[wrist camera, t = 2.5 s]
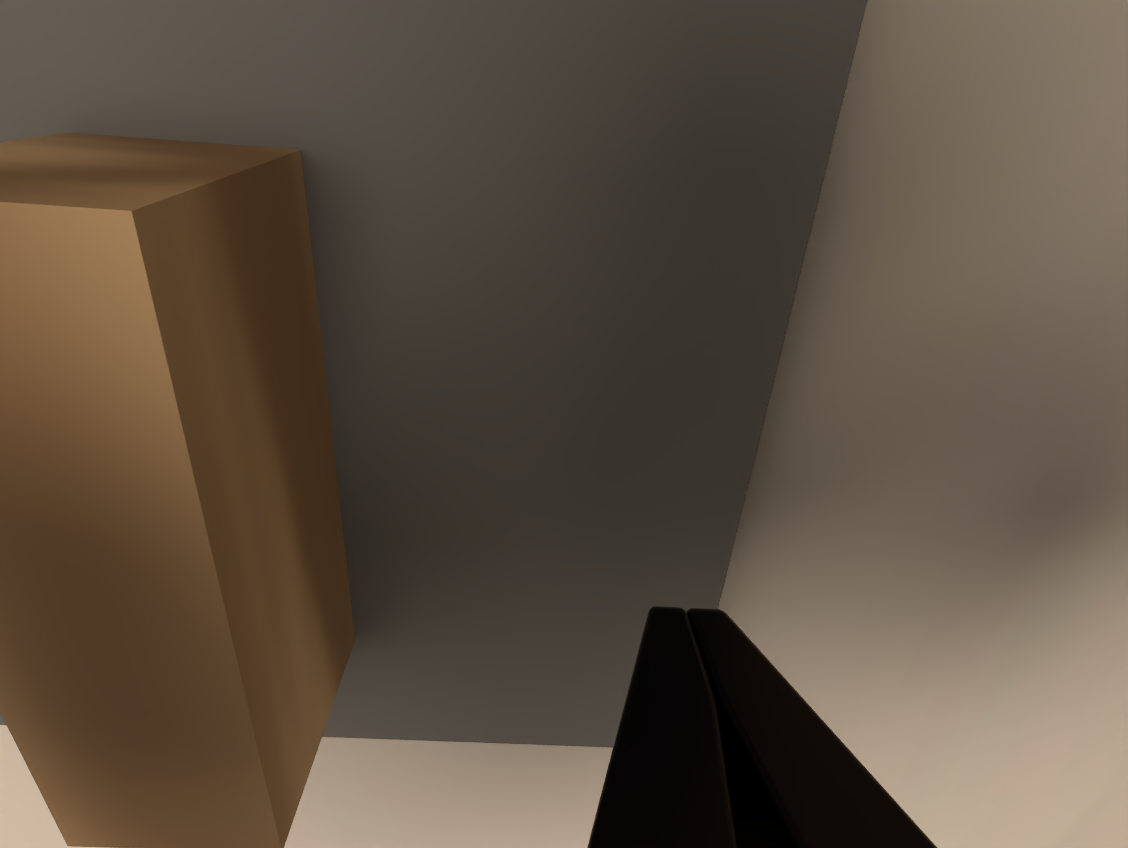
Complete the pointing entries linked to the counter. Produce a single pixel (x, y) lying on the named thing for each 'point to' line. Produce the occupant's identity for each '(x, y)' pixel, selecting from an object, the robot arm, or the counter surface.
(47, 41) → the mat
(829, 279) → the counter surface
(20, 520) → the t block
